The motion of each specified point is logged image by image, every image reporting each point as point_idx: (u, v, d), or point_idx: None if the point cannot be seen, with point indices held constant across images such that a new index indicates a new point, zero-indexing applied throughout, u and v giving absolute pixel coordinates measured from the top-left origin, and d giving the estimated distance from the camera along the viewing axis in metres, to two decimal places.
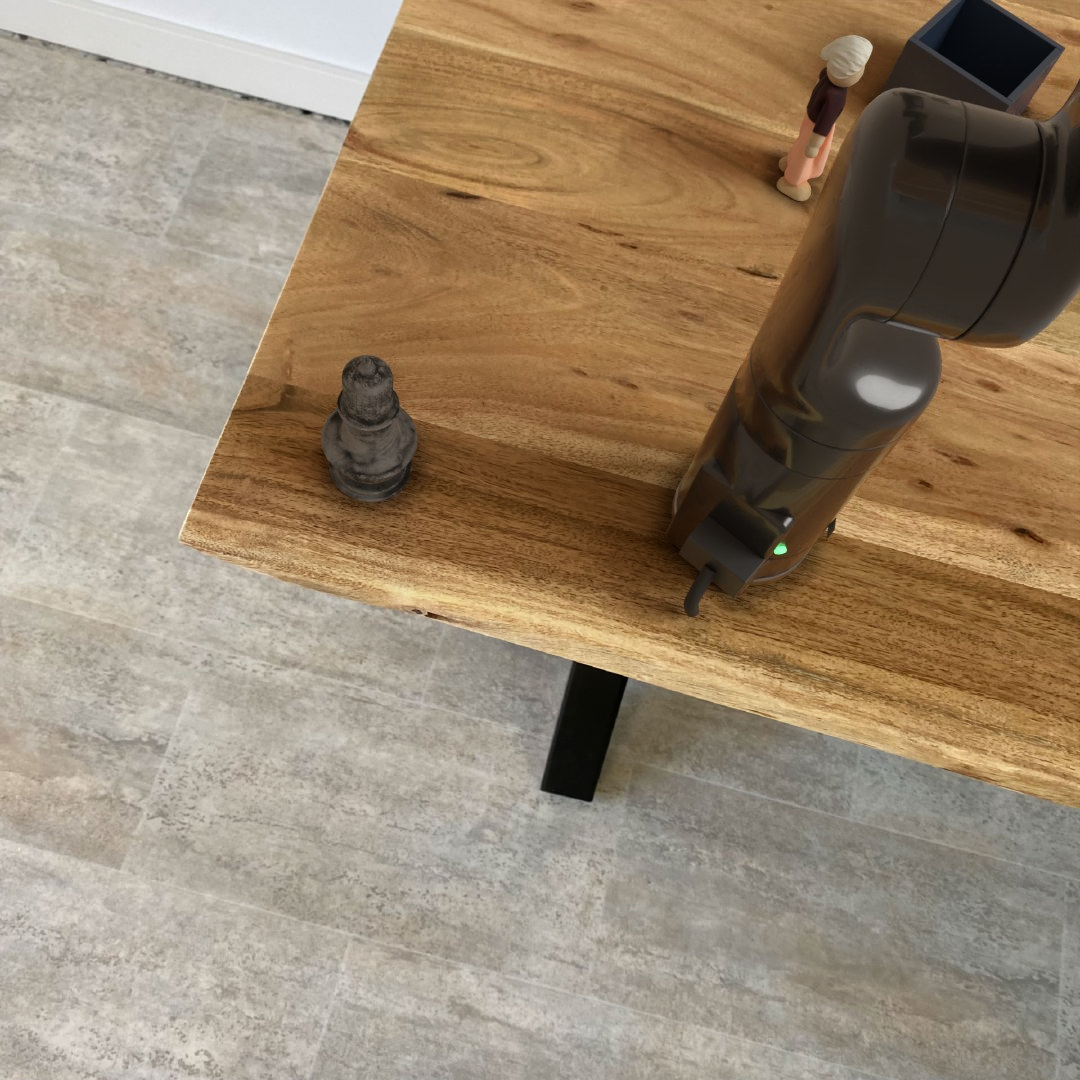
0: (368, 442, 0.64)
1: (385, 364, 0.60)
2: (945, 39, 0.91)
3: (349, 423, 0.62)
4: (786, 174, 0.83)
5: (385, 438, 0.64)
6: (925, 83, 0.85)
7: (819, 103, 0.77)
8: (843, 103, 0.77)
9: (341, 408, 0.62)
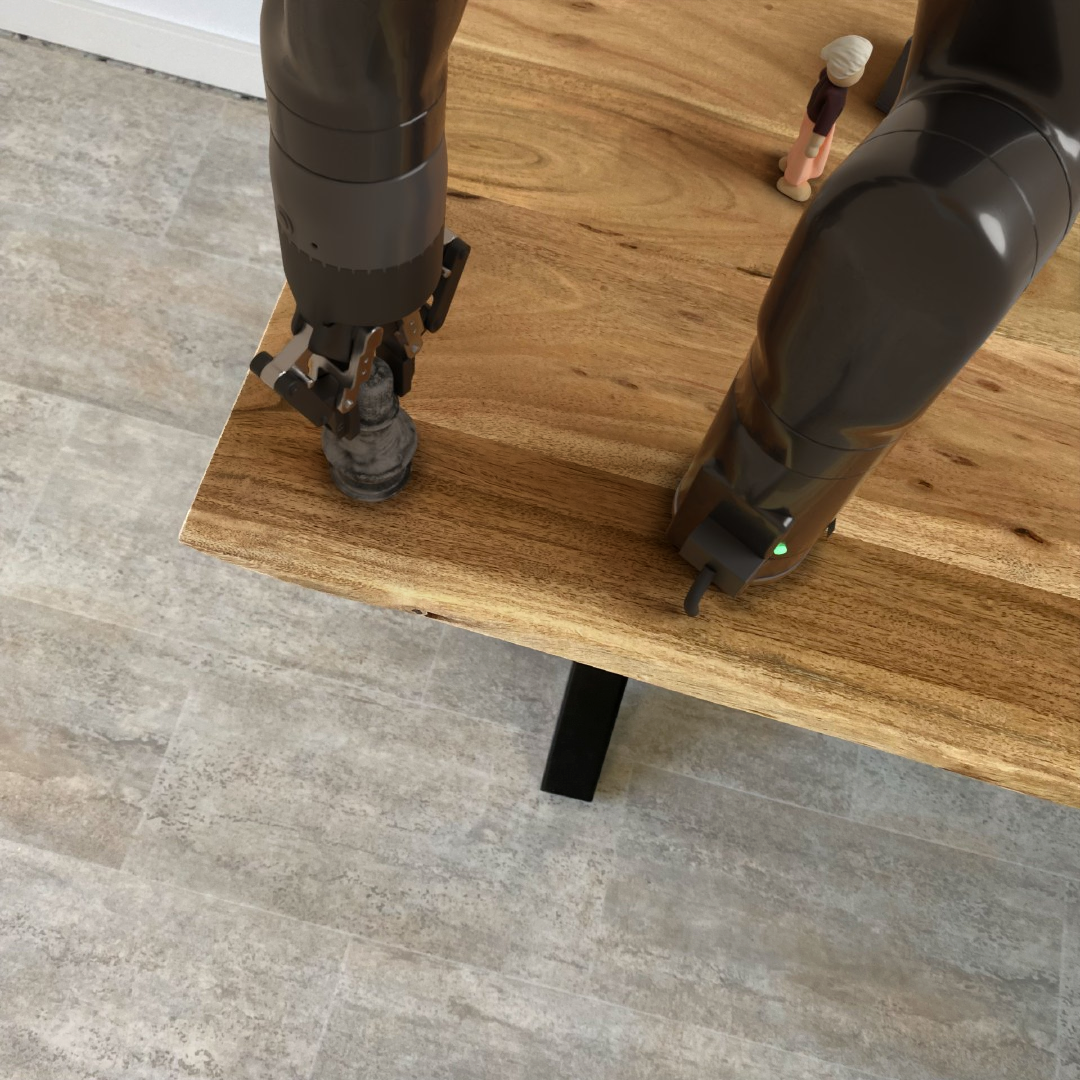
0: (368, 442, 0.64)
1: (385, 364, 0.60)
2: None
3: None
4: (786, 174, 0.83)
5: (385, 438, 0.64)
6: None
7: (819, 103, 0.77)
8: (843, 103, 0.77)
9: None
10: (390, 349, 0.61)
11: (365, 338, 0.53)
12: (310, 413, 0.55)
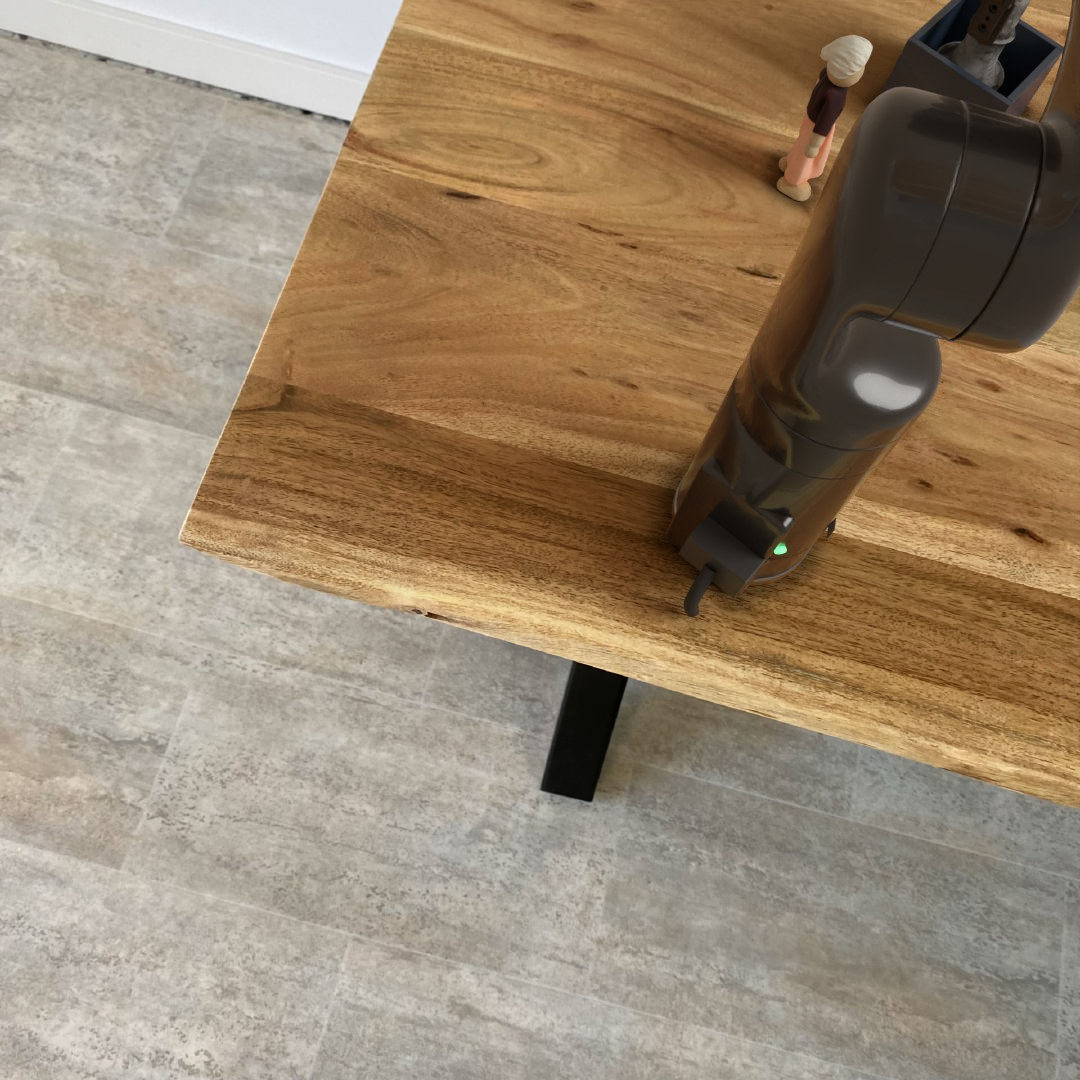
0: (985, 60, 0.84)
1: None
2: (945, 39, 0.91)
3: None
4: (786, 174, 0.83)
5: (995, 59, 0.85)
6: (925, 83, 0.85)
7: (819, 103, 0.77)
8: (843, 103, 0.77)
9: None
10: None
11: None
12: None
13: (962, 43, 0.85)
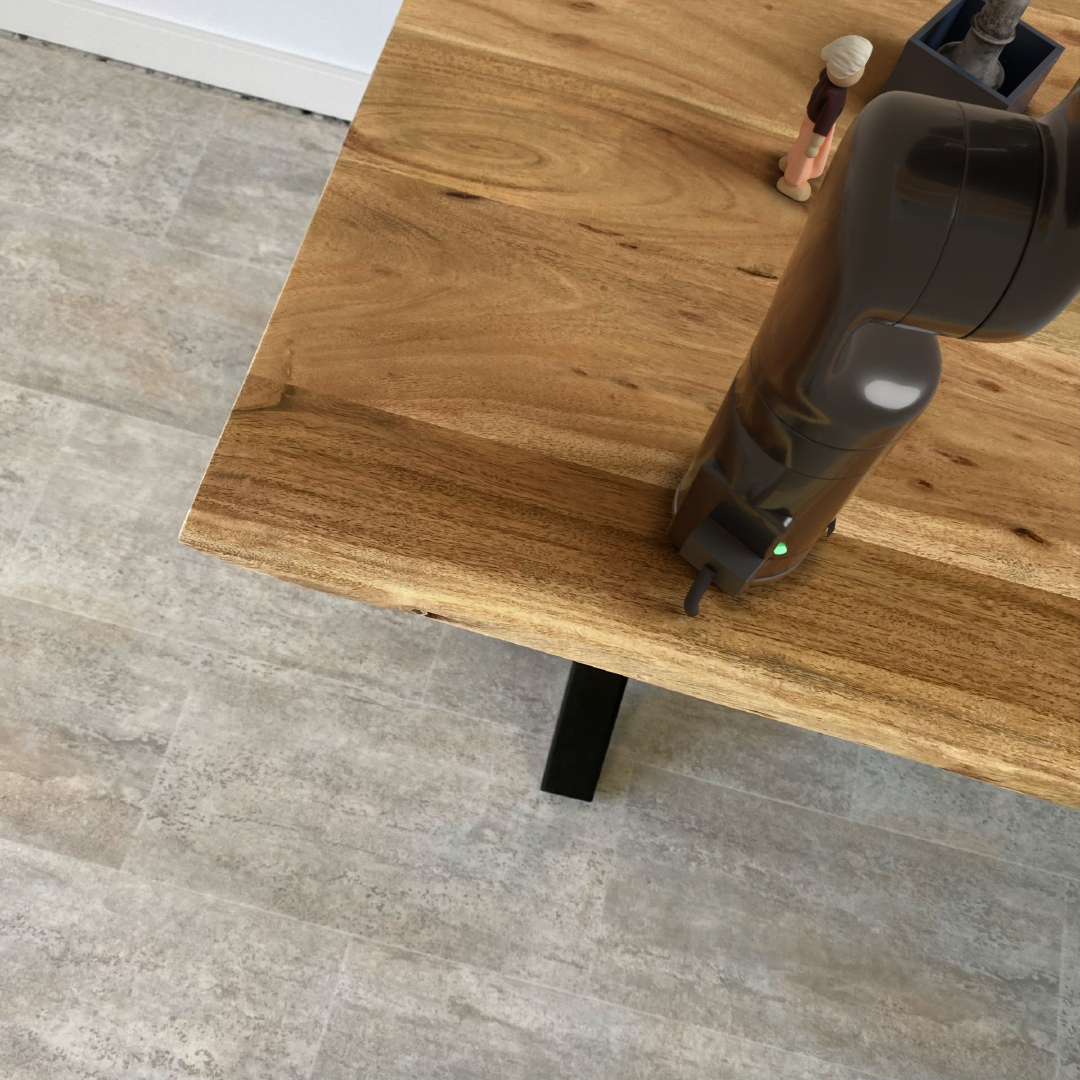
0: (985, 60, 0.84)
1: None
2: (945, 39, 0.91)
3: (984, 38, 0.83)
4: (786, 174, 0.83)
5: (995, 60, 0.85)
6: (925, 83, 0.85)
7: (819, 103, 0.77)
8: (843, 103, 0.77)
9: (976, 27, 0.83)
10: None
11: None
12: None
13: (962, 43, 0.85)
